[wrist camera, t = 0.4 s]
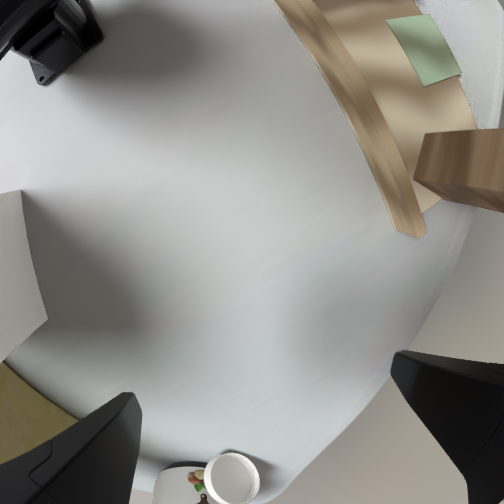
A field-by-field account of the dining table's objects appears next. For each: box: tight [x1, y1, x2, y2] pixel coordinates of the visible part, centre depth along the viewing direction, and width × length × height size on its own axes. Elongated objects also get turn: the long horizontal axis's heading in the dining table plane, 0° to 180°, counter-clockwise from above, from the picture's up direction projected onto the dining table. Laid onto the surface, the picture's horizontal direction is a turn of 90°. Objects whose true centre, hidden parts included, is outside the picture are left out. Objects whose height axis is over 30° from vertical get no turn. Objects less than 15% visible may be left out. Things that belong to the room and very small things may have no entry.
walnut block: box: [413, 129, 504, 213], centre depth 15 cm, size 4×4×13 cm
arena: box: [273, 0, 478, 238], centre depth 18 cm, size 22×16×3 cm
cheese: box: [0, 361, 79, 464], centre depth 16 cm, size 22×10×15 cm, turn 58°
